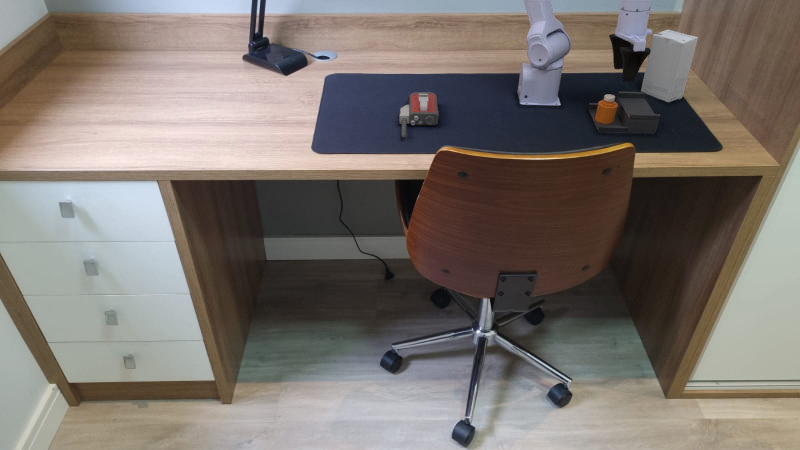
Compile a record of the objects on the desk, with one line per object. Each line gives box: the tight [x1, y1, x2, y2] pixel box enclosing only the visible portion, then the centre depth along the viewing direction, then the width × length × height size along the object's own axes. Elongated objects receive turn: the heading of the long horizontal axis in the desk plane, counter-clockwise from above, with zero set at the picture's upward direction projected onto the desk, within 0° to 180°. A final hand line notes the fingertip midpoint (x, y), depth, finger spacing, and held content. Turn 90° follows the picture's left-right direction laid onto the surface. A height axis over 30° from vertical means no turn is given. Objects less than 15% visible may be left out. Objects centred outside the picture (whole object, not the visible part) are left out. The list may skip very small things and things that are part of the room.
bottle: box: [595, 93, 618, 124], centre depth 124 cm, size 4×4×6 cm
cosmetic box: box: [640, 29, 699, 103], centre depth 133 cm, size 8×6×15 cm
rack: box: [587, 91, 661, 135], centre depth 125 cm, size 12×12×5 cm
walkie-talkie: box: [398, 91, 440, 139], centre depth 126 cm, size 9×4×20 cm
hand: (623, 74), depth 119 cm, fingers open, 7 cm apart
